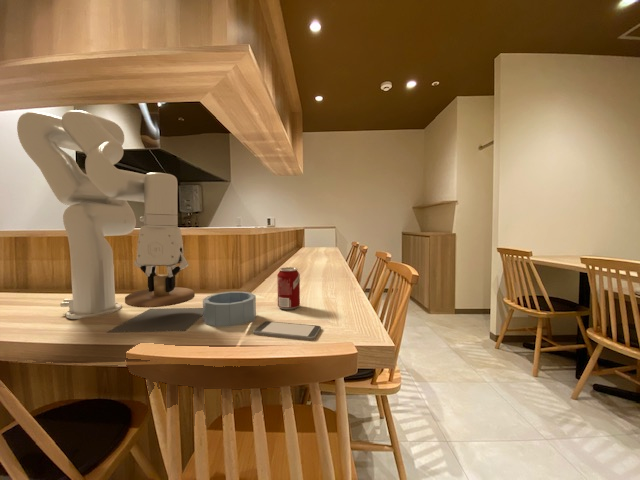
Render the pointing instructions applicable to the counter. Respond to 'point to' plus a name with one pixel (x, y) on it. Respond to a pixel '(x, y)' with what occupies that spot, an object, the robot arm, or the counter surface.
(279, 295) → the soda can
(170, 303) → the lid
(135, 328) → the mat
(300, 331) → the smartphone
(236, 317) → the bowl
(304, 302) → the counter surface
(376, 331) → the counter surface
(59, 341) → the counter surface
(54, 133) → the robot arm
